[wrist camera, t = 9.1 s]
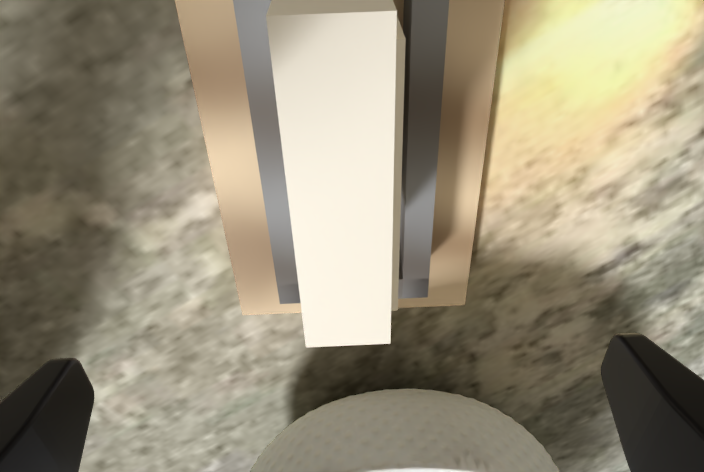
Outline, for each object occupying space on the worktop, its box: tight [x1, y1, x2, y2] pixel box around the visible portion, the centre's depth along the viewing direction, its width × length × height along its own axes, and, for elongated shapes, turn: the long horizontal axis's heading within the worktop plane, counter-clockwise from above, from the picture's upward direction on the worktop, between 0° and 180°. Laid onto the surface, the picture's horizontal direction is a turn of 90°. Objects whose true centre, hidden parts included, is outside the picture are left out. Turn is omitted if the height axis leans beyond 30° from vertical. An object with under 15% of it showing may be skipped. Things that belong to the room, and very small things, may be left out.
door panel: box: [266, 0, 406, 347], centre depth 15 cm, size 9×3×7 cm, turn 2°
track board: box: [175, 0, 505, 315], centre depth 18 cm, size 20×10×3 cm, turn 2°
